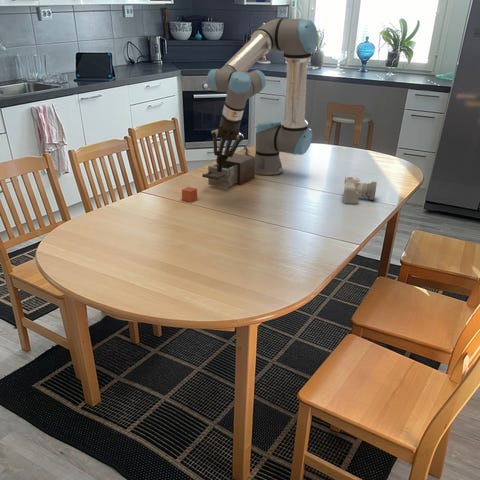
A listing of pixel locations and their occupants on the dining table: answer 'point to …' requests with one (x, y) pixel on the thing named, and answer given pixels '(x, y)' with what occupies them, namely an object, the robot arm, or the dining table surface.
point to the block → (189, 194)
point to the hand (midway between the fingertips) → (219, 169)
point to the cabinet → (243, 166)
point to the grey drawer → (223, 175)
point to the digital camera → (357, 190)
